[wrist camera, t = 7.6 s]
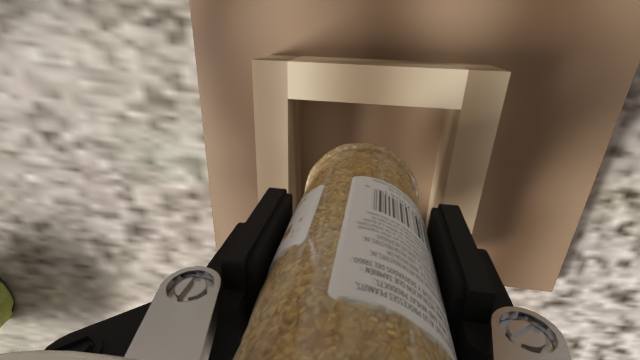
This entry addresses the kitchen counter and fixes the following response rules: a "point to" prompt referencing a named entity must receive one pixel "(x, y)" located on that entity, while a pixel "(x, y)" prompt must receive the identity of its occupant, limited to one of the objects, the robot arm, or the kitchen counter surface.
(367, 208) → the spice jar
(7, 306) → the plant pot
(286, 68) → the socket
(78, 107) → the kitchen counter surface
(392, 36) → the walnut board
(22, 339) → the kitchen counter surface
